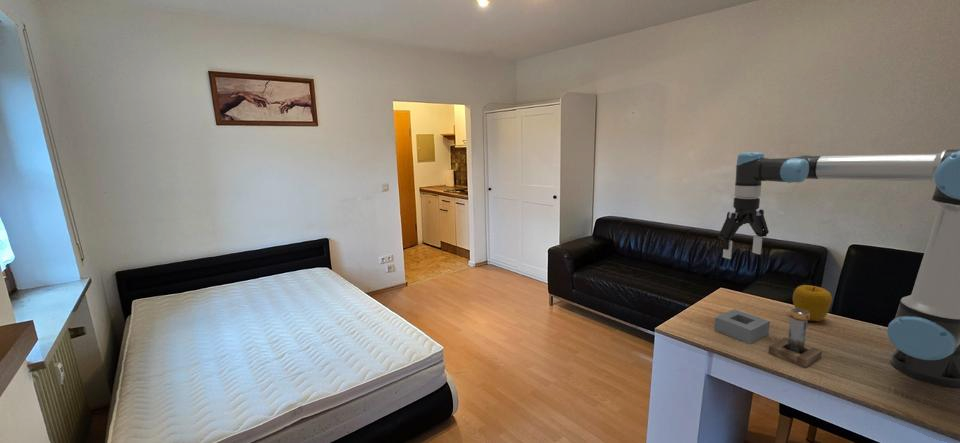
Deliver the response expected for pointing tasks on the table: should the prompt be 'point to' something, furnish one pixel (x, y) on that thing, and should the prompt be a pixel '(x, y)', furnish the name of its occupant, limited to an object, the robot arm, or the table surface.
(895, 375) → the table surface
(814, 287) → the apple
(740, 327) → the socket
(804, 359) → the mount
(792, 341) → the pin
